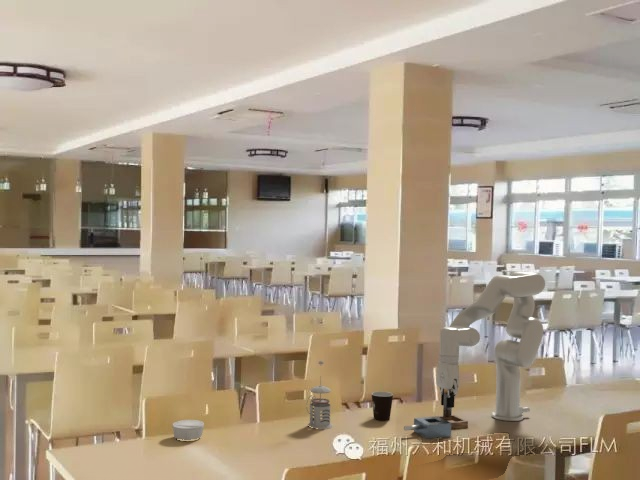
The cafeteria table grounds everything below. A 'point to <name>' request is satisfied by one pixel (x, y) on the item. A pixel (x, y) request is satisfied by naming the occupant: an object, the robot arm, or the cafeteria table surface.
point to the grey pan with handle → (431, 427)
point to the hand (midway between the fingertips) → (447, 405)
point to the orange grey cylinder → (446, 411)
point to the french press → (320, 408)
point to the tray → (456, 421)
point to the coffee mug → (382, 405)
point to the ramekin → (188, 429)
